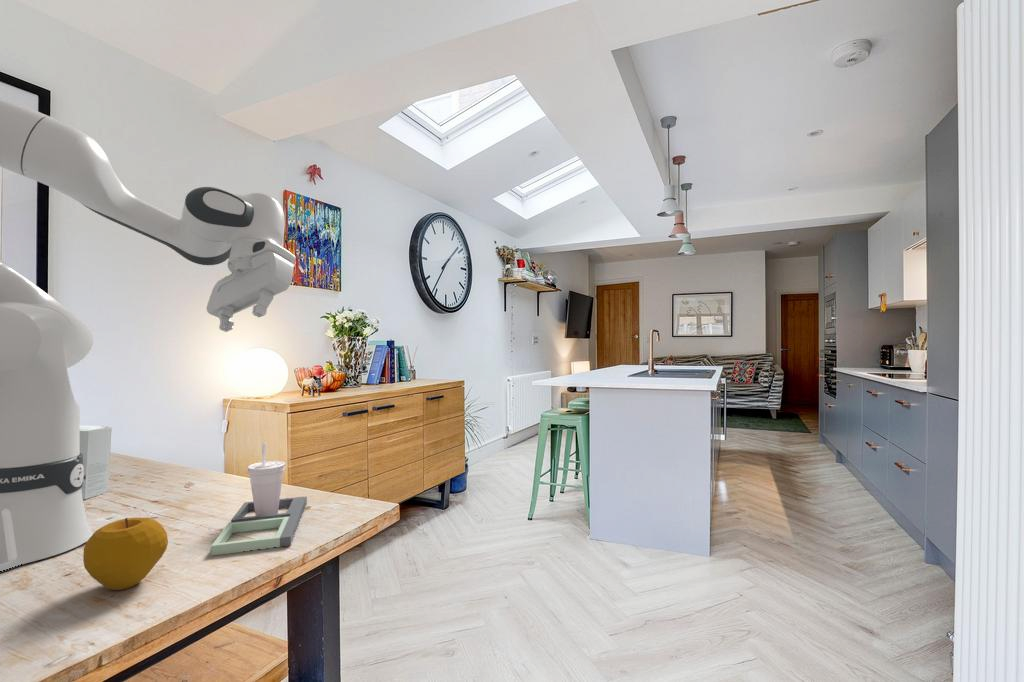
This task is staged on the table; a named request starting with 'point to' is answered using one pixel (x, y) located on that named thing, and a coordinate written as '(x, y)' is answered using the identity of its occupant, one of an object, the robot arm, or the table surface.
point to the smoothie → (266, 484)
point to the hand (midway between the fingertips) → (241, 322)
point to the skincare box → (95, 459)
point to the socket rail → (261, 527)
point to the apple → (124, 551)
